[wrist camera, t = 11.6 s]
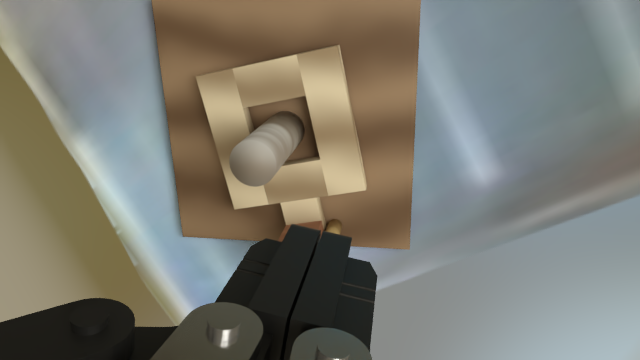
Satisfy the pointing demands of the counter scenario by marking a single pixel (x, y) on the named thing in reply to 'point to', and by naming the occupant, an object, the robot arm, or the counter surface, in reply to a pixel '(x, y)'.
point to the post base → (292, 110)
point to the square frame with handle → (327, 120)
